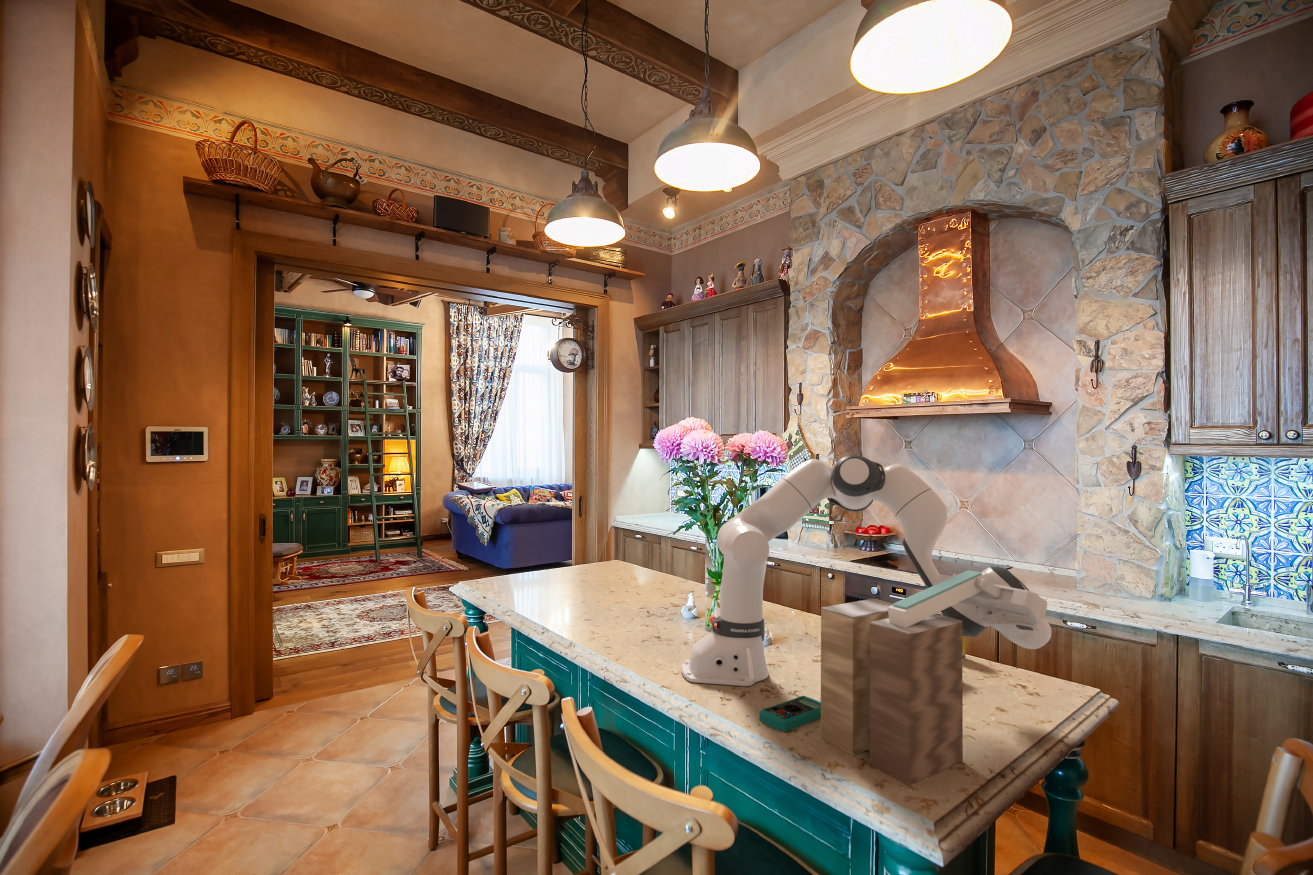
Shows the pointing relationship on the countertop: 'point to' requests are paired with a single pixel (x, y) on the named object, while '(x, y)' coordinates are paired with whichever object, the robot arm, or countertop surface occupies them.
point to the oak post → (847, 672)
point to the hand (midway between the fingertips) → (966, 579)
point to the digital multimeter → (791, 713)
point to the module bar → (934, 599)
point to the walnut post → (916, 697)
